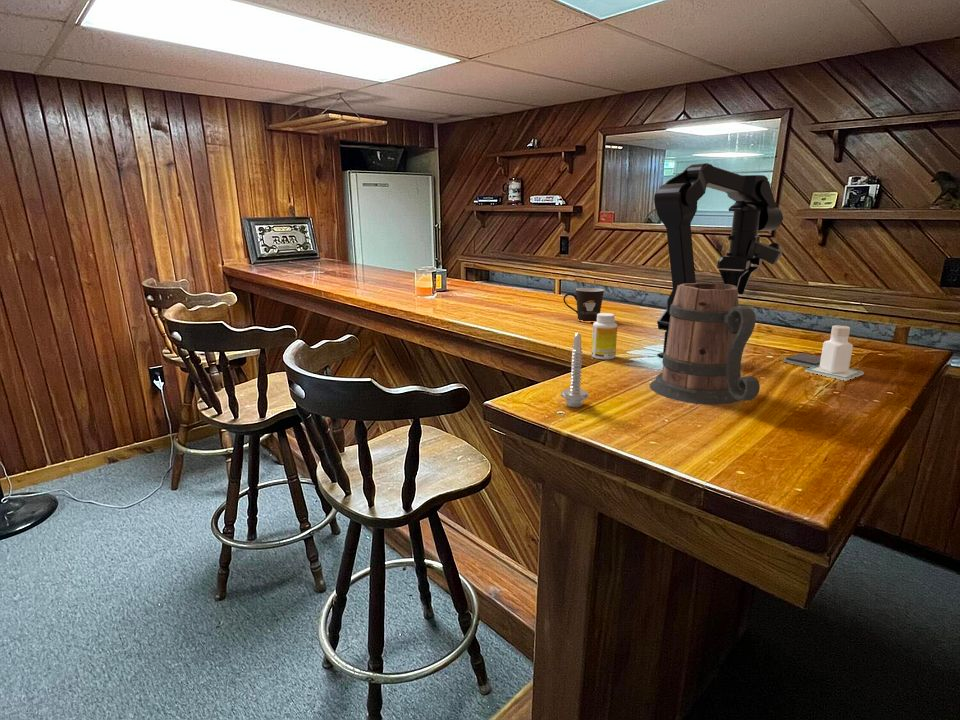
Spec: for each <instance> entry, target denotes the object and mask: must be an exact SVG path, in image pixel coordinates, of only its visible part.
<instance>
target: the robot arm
mask: <svg viewBox="0 0 960 720" xmlns="http://www.w3.org/2000/svg"><path fill="white" fill-rule="evenodd" d="M707 188H710V189H712V190H717V191H719V192H722V193H723V192H724V193H725V194H727V198H729V199H730V200H732V201H734V203H733V204H732V205H730V207H728V212H733V215H732V224H731V232H730V235H728V239H727V240H728V241H729V249H728V252H726V254H725V255H723V256H721V257H720V258H719V259H718V260H717V265H716V268H717V269H718V272H719V273H720V276H721V279H722V282H723V284H729V285H735V286H737V288H738V295H744V293H745V290H746V288H747V285H748V283H749V280H750V278H751V275H752V273H754V272H755V271H757V270H758V269H759V268H760V266H761V265H762V263H763V261H766V262H767V263H768V264H770V265H775V264H778V261H779V260H780V258H781V256H782V255H783V252H784V250H783V249H781V244H780V243H778V242H774V241H773V242H771V243H770V244H767V243H763V242H761V236H760V235H758V233H759V231H760V232H765V231H767V232H769V231H770V232H771V231H775V230H777V229H778V228H779V227H780V226H781V225H782V224H783V221H784V216H783V212H782V210H781V209H780V208H779V207H777V205H778V202H776V201H775V198H774V195H773V192H772V187H771V184H770V181H769V179H768V177H767V176H766V175H763V174H761V175H760V174H753V175H749V174H748V175H746V174H745V175H744V174H739V173H735V172H732V171H729V170H726V169H722V168H720V167H716V166H713V165H712V164H710V163H707V162H705V163H695V164H691V165H689V166H687V167H686V168H685V169H684V170H683V171H682V172H681V173H678V174H677V175H675V176H674V177H672V178H671V179H669V180H667V181H666V182H665V183H664V184H661V185H660V186H659V188H658V189H657V190H656V192H655V194H654V197H653V203H654V207H655V210H656V211H655V212H656V215H657V217H658V219H659V221H661V223H662V224H663V225H664V227H665V229H666V238H667V245H668V247H667V248H668V256H669V258H668V259H669V265H670V275H671V282H672V283H671V285H672V291H671V293H670V294H669V296H668V298H667V299H666V301H667V302H666V305H667V306H666V309H665V310H664V312H663V313H662V314H661V316H660V317H659V318H658V320H657V321H656V323H657V329H658V330H663V331H664V339H663V351H662V352H661V353H660V352H659V353H657V355H656V356H657V357H660V358H663V354H664V353H665V351H666V344H667V337H668V330H669V323H670V306H671V304H673V300H674V297H675V293H676V290H677V286H678V285H681V284H686V283H697V282H696V281H697V280H696V270H695V259H694V248H693V247H694V246H693V236H692V227H691V224H692V221H693V220H694V217H695V215H696V212H697V211H698V202H699V200H700V199H701V198H702V197H703V196H704V195H705V194H706V191H707Z"/></svg>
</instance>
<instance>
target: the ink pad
mask: <svg viewBox="0 0 960 720" xmlns="http://www.w3.org/2000/svg"><path fill="white" fill-rule="evenodd" d="M820 360H821V355H815V354H809V353H804V352H800V353H797V354H793V355H790V356H786V358H783V359H782V363H783V362H788V363H793V364H796V365H795V366H797V365H800V366H799V367H802V366H805V367H804V368H807V367H813V366H817V367H818V366H820ZM788 363H787V364H788Z"/></svg>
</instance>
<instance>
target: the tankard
mask: <svg viewBox="0 0 960 720" xmlns="http://www.w3.org/2000/svg"><path fill="white" fill-rule="evenodd" d="M755 326H756V313H755V311H754V309H752V308H751V307H750V306H745V305H744V306H743V305H741V306H740V304H739V294H738V288H737V286H735V285H729V284H724V283H704V282H703V283H702V282H696V283H686V284H681V285H678V286H677V290H676V293H675V297H674V300H673V304H671V306H670V323H669V330H668V337H667V344H666V351H665V353H664V354H663V357H662V362H661V363H662V372H660V373H659V374H657V375H656V378H655V379H654V380H652V381H651V382H650V384H649V389H651V391H653V392H654V393H656V394H657V395H659V396H660V397H665V398H667V399H670V400H674V401H677V402H683V403H688V404H695V405H696V404H697V405H706V406H707V405H708V406H711V405H712V406H716V405H719V406H720V405H723V406H724V405H730V404H735V403H738V402H741V401H751V400H753V399H755V398H756V397H757V396H758V394H759V392H760V388H761V387H760V386H761V385H760V384H761V383H760V382H759V380H758V378H757V377H755V376H753V375H749V376H748V375H747V376H742V375H741V367H742V357H743V353H744V349H745V347H746V345H747V343H748V341H749V339H750V338H751V336H752V334H753V332H754V329H755Z"/></svg>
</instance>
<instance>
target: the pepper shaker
mask: <svg viewBox="0 0 960 720" xmlns="http://www.w3.org/2000/svg"><path fill="white" fill-rule="evenodd" d="M850 331H851V327H850V326H848V325H832V326H831V332H830V337H829V338H830V339H828V340H825V341H824V342H823V343H822V350H821V355H820V357H821V360H820V369H822V370H825V371H828V372H831V373H845V372H848V370H849V369H850V364H851V359H852V353H853V347H854V345H853V344H852V343H851V342H849V341H848V340H849V337H850Z"/></svg>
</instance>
